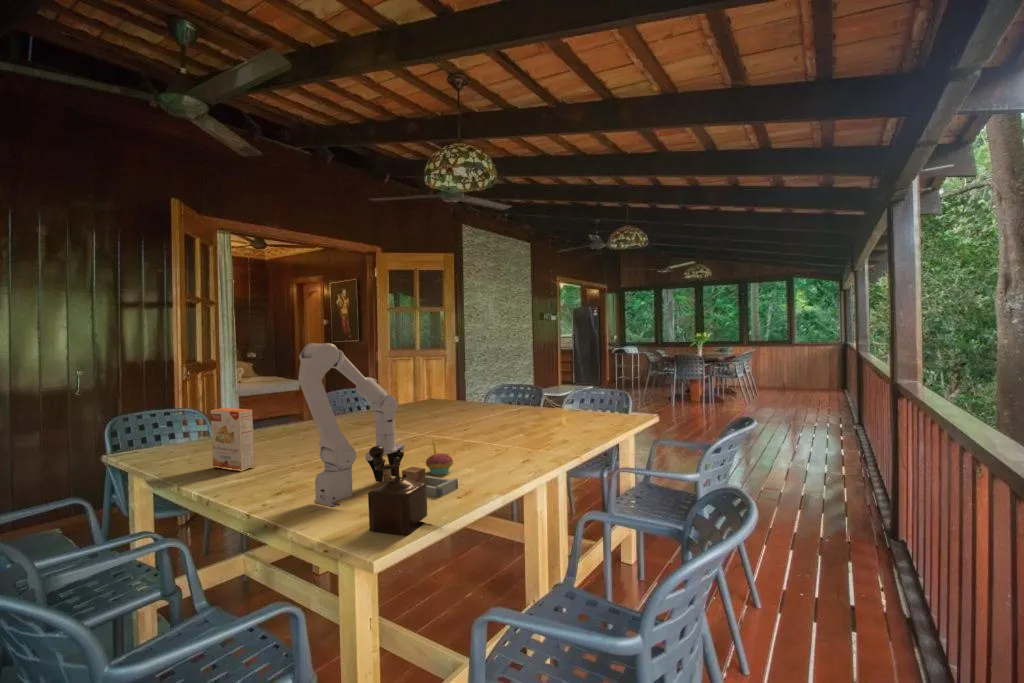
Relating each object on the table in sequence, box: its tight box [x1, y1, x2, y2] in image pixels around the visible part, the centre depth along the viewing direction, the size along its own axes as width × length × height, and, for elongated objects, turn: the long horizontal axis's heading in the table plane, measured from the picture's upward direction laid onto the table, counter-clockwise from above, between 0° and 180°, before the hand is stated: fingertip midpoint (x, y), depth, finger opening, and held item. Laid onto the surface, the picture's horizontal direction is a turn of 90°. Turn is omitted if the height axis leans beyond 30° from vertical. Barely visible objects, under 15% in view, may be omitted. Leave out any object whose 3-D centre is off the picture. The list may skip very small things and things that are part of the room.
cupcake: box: [425, 439, 454, 476], centre depth 159 cm, size 9×8×12 cm
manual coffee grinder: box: [367, 445, 428, 537], centre depth 120 cm, size 16×11×18 cm
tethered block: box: [382, 463, 427, 484], centre depth 147 cm, size 4×14×5 cm, turn 60°
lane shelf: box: [426, 475, 459, 498], centre depth 143 cm, size 12×18×4 cm, turn 60°
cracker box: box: [210, 407, 255, 470], centre depth 174 cm, size 14×6×21 cm, turn 67°
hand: (386, 478), depth 150 cm, fingers open, 6 cm apart
